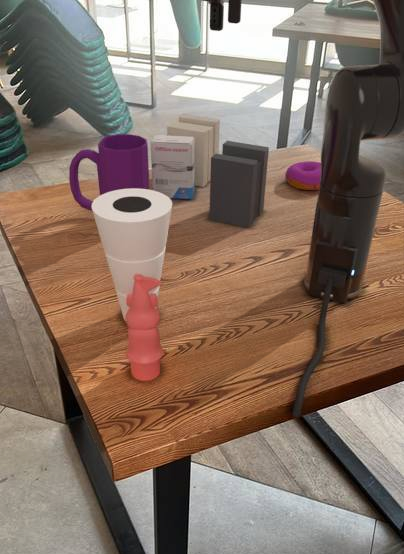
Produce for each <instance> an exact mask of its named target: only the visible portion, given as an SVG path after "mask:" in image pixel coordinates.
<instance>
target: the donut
mask: <svg viewBox="0 0 404 554" xmlns="http://www.w3.org/2000/svg"><path fill="white" fill-rule="evenodd" d="M284 178H285V179H284V180H286V182H287V183H288V185H290V186H291V187H293V188H295V189H297V190H302V191H303V190H304V191H305V190H306V191H316V190H317V191H319V185H320V178H321V161H320V162H319V161H314V160H313V161H309V160H308V161H307V160H306V161H299V162H295V163H292V164H291V165H289V166H288V167H287V169H286V171H285V176H284Z"/></svg>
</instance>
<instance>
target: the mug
mask: <svg viewBox="0 0 404 554" xmlns="http://www.w3.org/2000/svg"><path fill="white" fill-rule="evenodd" d="M148 147H149V145H148V140H147V138H145V137H142V136H141V135H137V134H130V133H122V134H121V133H119V134H118V133H117V134H112V135H108V136H104V137H102V138H101V140H100V141H99V142H98V143H97V148H98V151H96V150H94V149H89V148H87V149H81V150H80V151H78V152H77V153H76V154H75V155H74V156H73V158H72V159H71V161H70V165H69V169H68V170H69V173H68V174H69V175H68V181H69V186H70V191H71V193H72V196H73V199H74V201H75V202H76V203H77V204H78V205H79V206H80V207H81V208H83V209H85V210H87V211H89V212H93V211H92V203H93V201H94V200H91V199H88V198H87V197H86V196H84V195H83V193H82V190H81V188H80V180H79V167H80V164H81V162H82V160H84V159H88V160H89V161H91V162H92V163H94V164H95V165H96V171H97V180H98V181H97V183H98V191H99V196H100V195H102V194H105V193H107V192H111V191H115V190H120V189H130V188H138V189H148V190H151V188H150V169H149V148H148Z"/></svg>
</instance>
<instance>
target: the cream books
mask: <svg viewBox="0 0 404 554" xmlns="http://www.w3.org/2000/svg"><path fill="white" fill-rule="evenodd" d="M220 123H221V119H220V118H213V117H208V116H207V117H206V116H198V115H192V114H185V113H182V114H181V115H179V116H178V121H177V122H176V123H170V124H169V125H167V126H166V134H167V135H166V136H186V137H194V187H200V188H204V187H205V186H207V184H208V183H210V176H211V157H212V156H213V155H215V154H220V128H221V127H220V126H221V124H220Z"/></svg>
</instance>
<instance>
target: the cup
mask: <svg viewBox="0 0 404 554" xmlns="http://www.w3.org/2000/svg"><path fill="white" fill-rule="evenodd" d="M92 201H93V203H92V211H91V212H92V214H93V217H94V221H95V224H96V228H97V231H98V234H99V239H100V242H101V246H102V247H103V252H104V255H105V259H106V262H107V265H108V266H107V267H108V269H109V272H110V276H111V278H112V283H113V285H114V290H115V293H116V296H117V300H118V303H119V307H120V310H121V314H122V317H123V320H124V321H125V322H126V320H125V316H126V313H127V311H128V310H129V309H130V308H129V307H128V306H127V304H126V298H127V295H128V294H130V293H133V285H134V281H135V280H134V279H133V278H134V275H135V274H141V275H143V276H145V277H151V278H155V279H157V280H159V281H161V280H162V279H161V278H162V273H163V266H164V260H165V255H166V248H167V247H166V245H167V243H168V234H169V229H170V222H171V216H172V210H173V209H172V208H173V201H172V199H171V198H169V197H167V196H166V195H164V194H162V193H160V192H157V191H153V189H150V190H148V189H138V188H130V189H120V190H115V191H111V192H107V193H105V194H102V195H100V194H99V195H98V196H97V197H96V198H95V199H94V200H92ZM160 287H161V286H157V287H156V288H154V289H152V290H150V291H149V292H148V293H149V294H152V293H154V294H156V295H157V298H159V294H160V293H159V292H160ZM155 308H156V309H157V307H155Z"/></svg>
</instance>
